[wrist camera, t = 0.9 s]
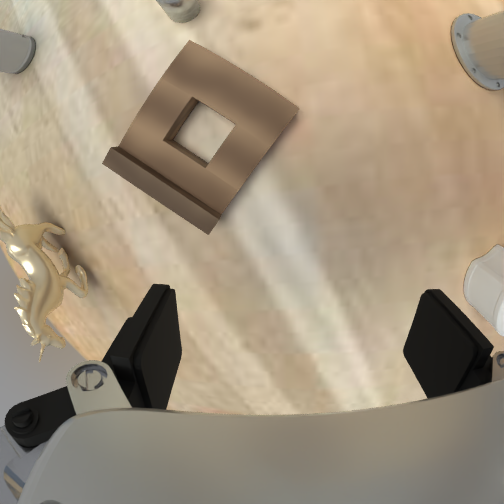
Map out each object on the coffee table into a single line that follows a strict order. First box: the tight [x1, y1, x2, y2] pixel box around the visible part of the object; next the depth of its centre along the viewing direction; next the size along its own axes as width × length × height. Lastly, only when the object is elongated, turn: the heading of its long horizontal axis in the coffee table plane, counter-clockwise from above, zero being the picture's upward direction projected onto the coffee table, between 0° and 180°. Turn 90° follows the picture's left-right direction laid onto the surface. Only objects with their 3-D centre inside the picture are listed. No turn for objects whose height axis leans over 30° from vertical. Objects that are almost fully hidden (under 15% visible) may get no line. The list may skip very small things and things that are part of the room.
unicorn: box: [0, 207, 88, 362], centre depth 30 cm, size 20×4×17 cm, turn 31°
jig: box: [102, 40, 299, 235], centre depth 30 cm, size 16×14×6 cm
